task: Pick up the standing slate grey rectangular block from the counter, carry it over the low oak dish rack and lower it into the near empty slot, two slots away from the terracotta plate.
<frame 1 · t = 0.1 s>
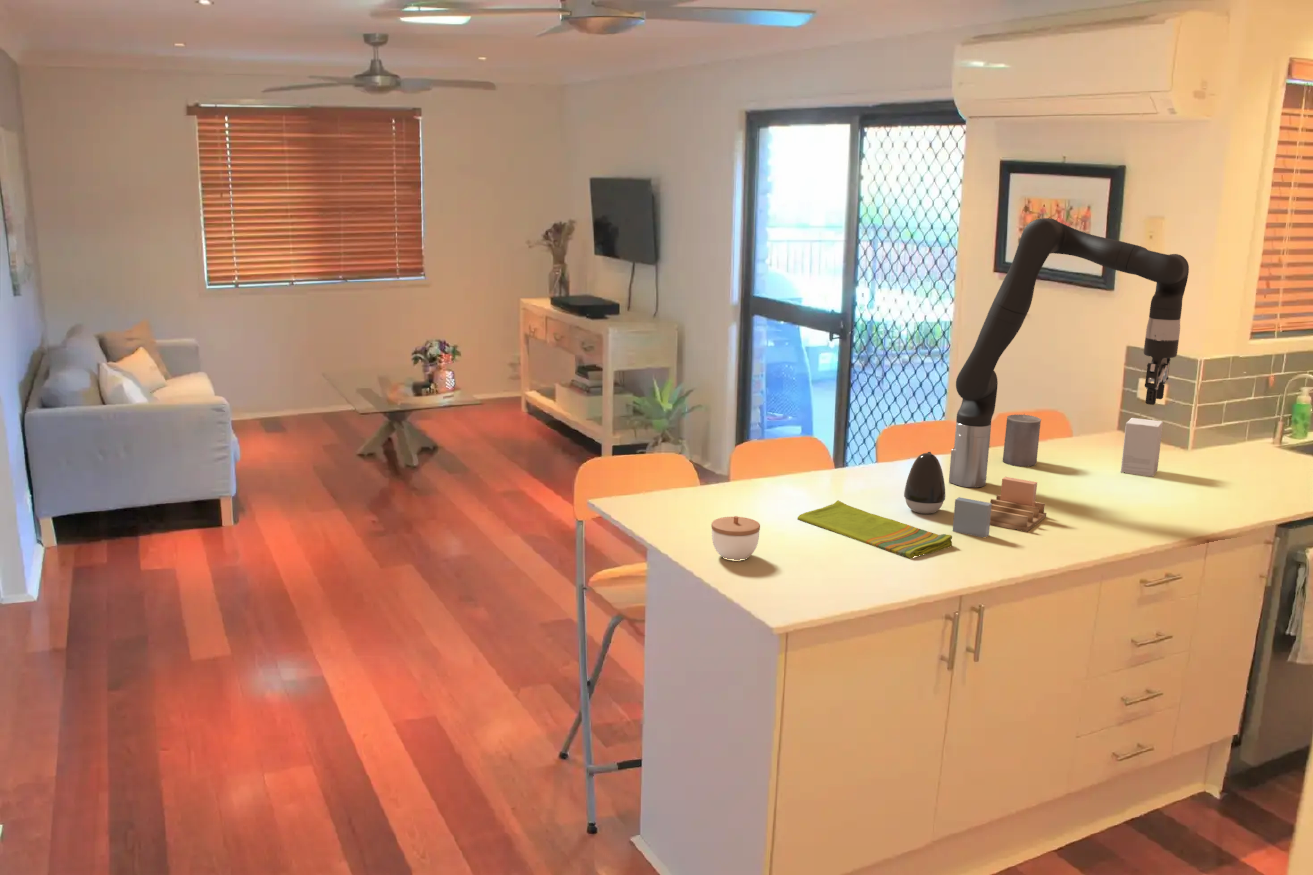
hand: (1154, 401, 271), 29 cm above the worktop, tool pointing down, fingers open, 8 cm apart
supplement box: (1138, 472, 319), on the worktop
pillar candle: (1019, 463, 327), on the worktop
lidded jar: (734, 557, 243), on the worktop
black egg-shaped piece: (923, 511, 278), on the worktop
slate grey rectangular block: (972, 517, 260), point 4 cm above the worktop
dish rack: (1010, 519, 273), on the worktop
terracotta plate: (1018, 495, 275), point 5 cm above the worktop, touching dish rack
dish towel: (872, 535, 261), on the worktop
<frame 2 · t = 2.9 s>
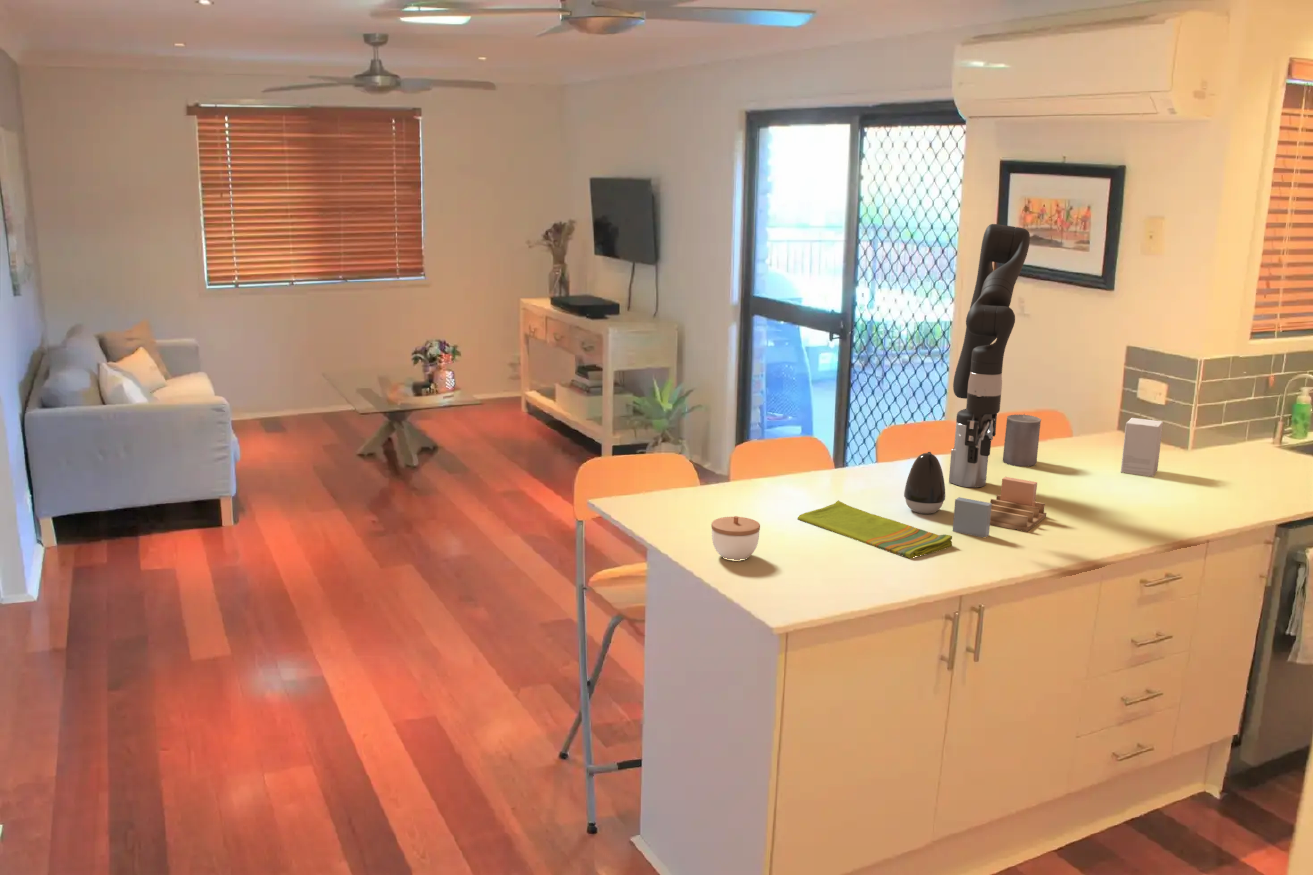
hand: (978, 459, 257), 18 cm above the worktop, tool pointing down, fingers open, 8 cm apart
nothing on the worktop moved.
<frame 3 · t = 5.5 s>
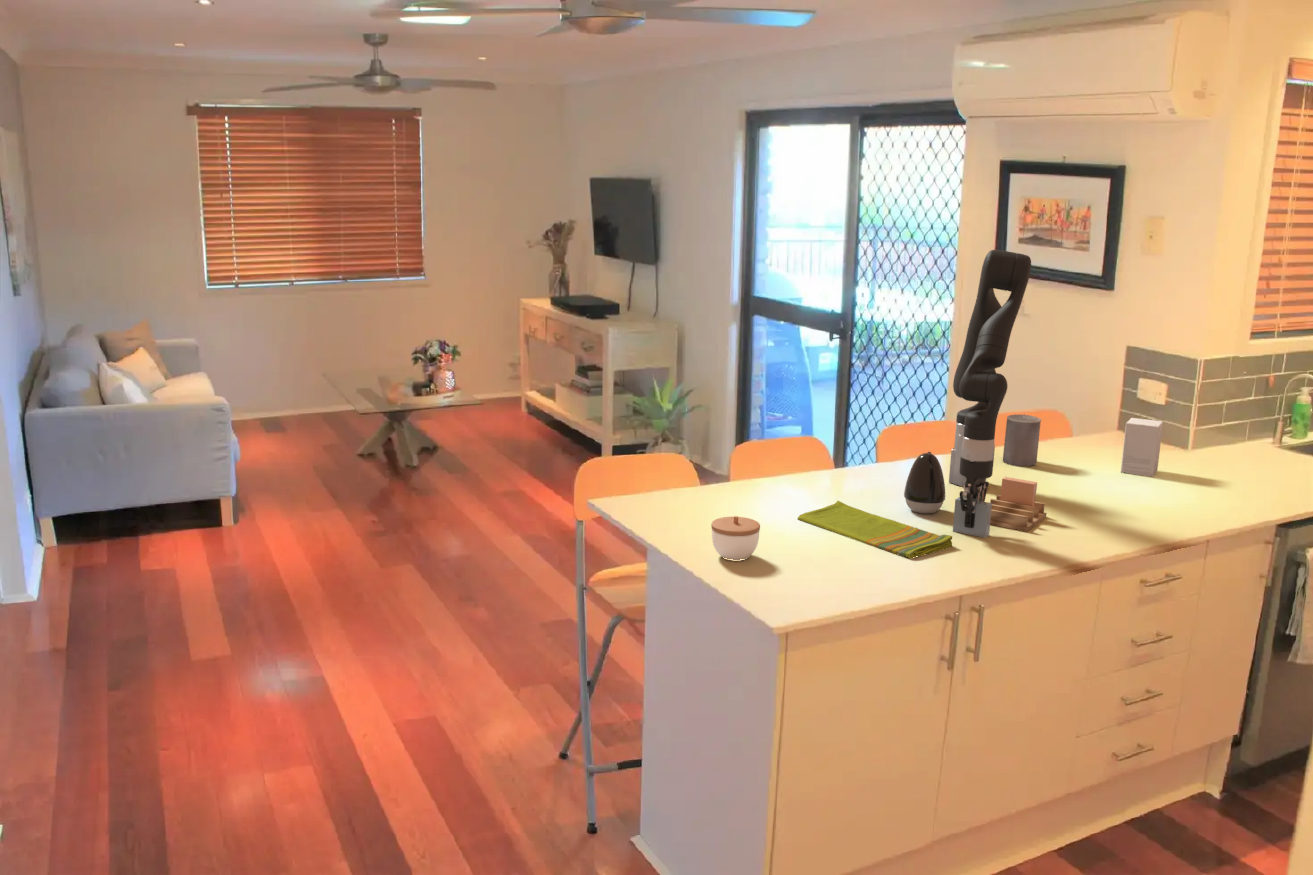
hand: (971, 525, 261), 2 cm above the worktop, tool pointing down, fingers closed on slate grey rectangular block, 2 cm apart
slate grey rectangular block: (972, 517, 260), point 4 cm above the worktop, touching gripper
everything else where it was.
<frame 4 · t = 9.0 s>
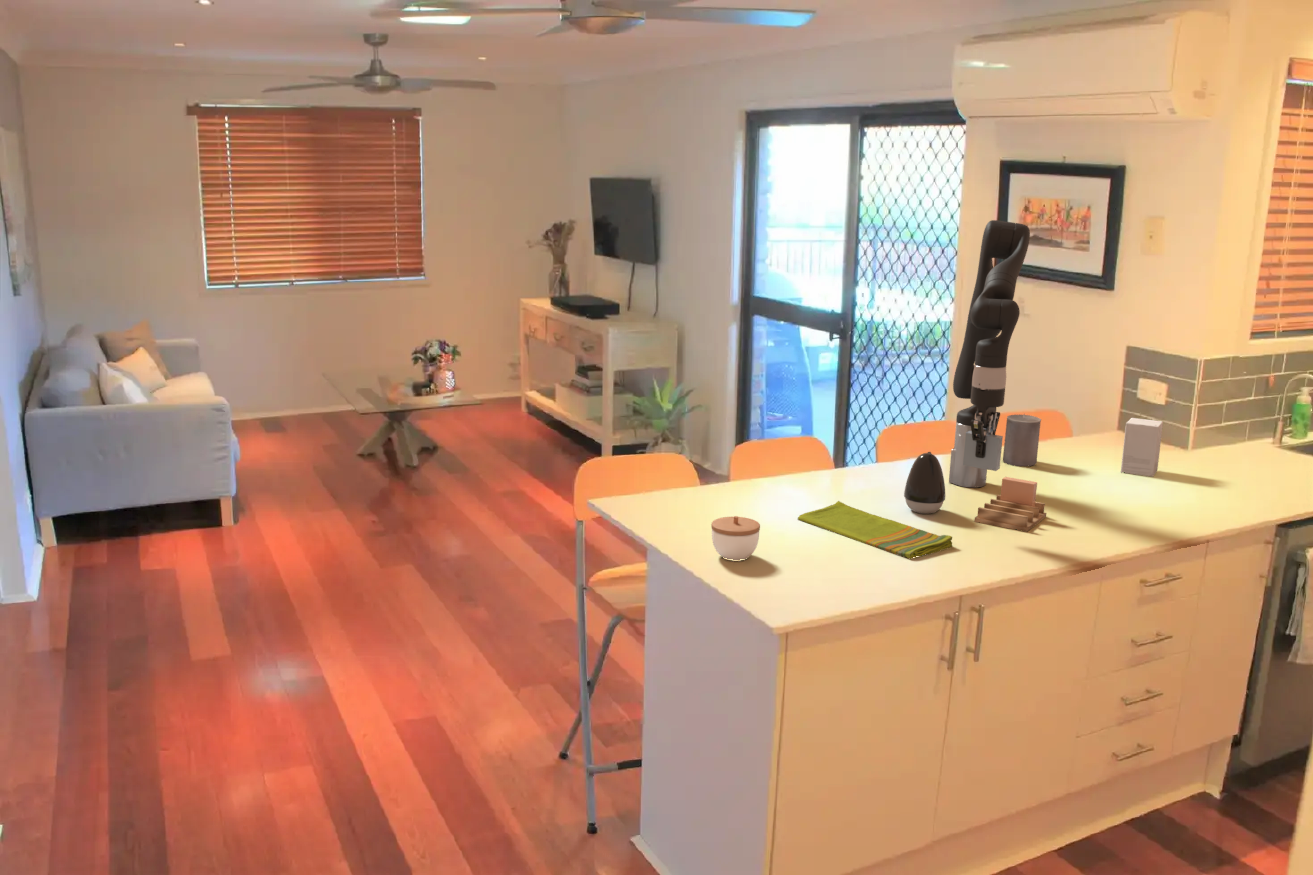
hand: (982, 456, 259), 19 cm above the worktop, tool pointing down, fingers closed on slate grey rectangular block
slate grey rectangular block: (982, 450, 258), point 20 cm above the worktop, touching gripper
everything else where it was.
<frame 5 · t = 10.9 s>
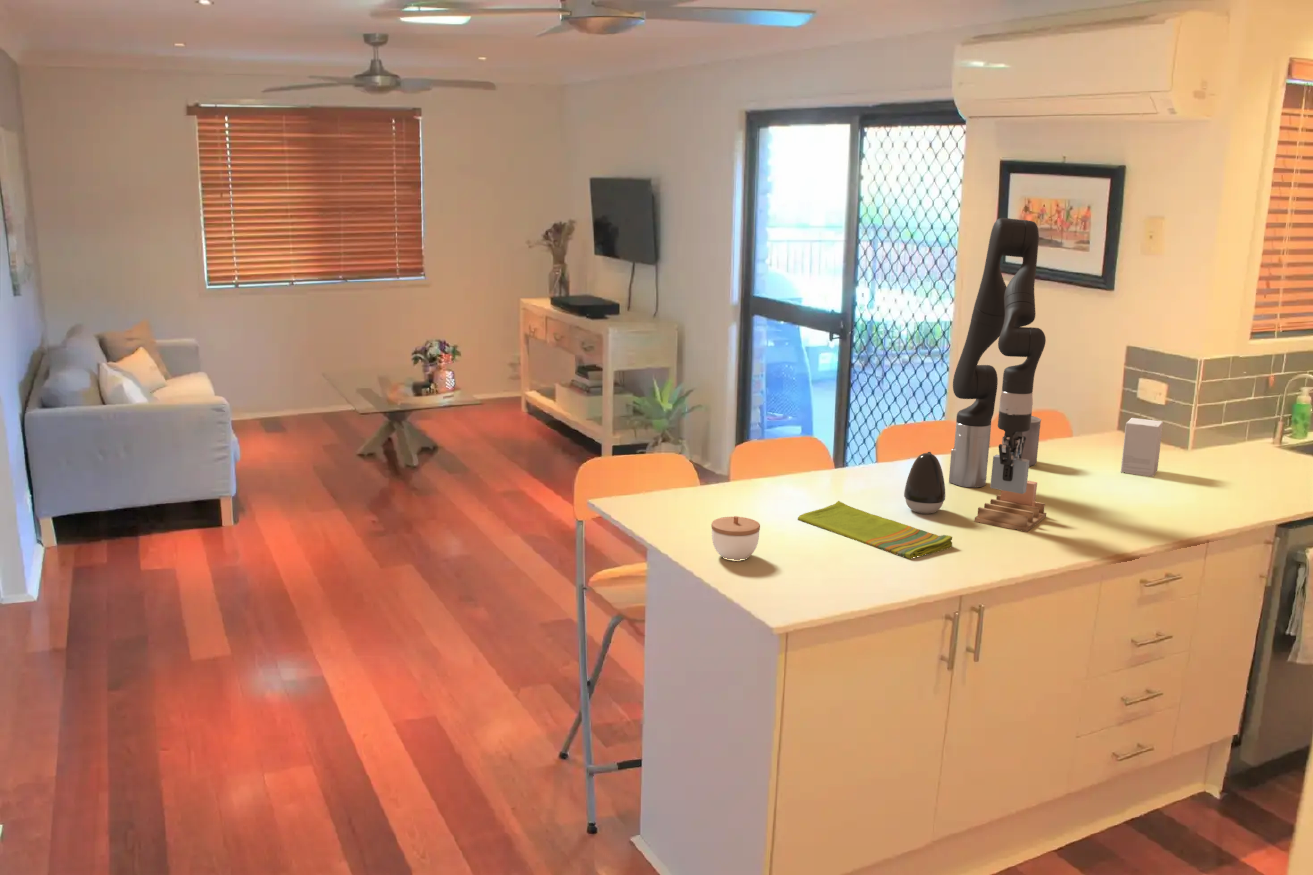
hand: (1009, 479, 266), 11 cm above the worktop, tool pointing down, fingers closed on slate grey rectangular block
slate grey rectangular block: (1009, 474, 266), point 13 cm above the worktop, touching gripper
everything else where it was.
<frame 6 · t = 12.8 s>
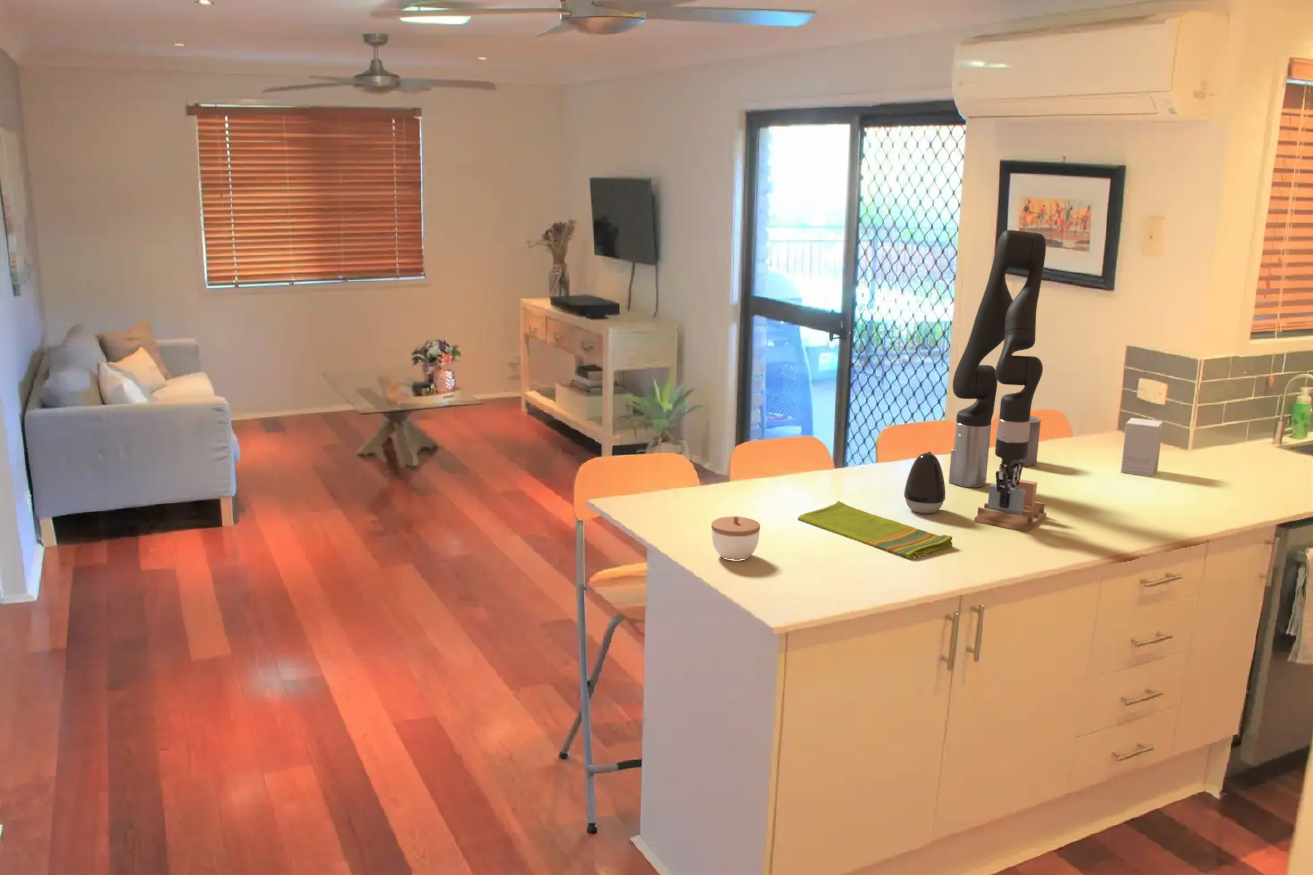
hand: (1006, 505, 268), 5 cm above the worktop, tool pointing down, fingers open, 3 cm apart
slate grey rectangular block: (1006, 503, 268), point 5 cm above the worktop
everything else where it was.
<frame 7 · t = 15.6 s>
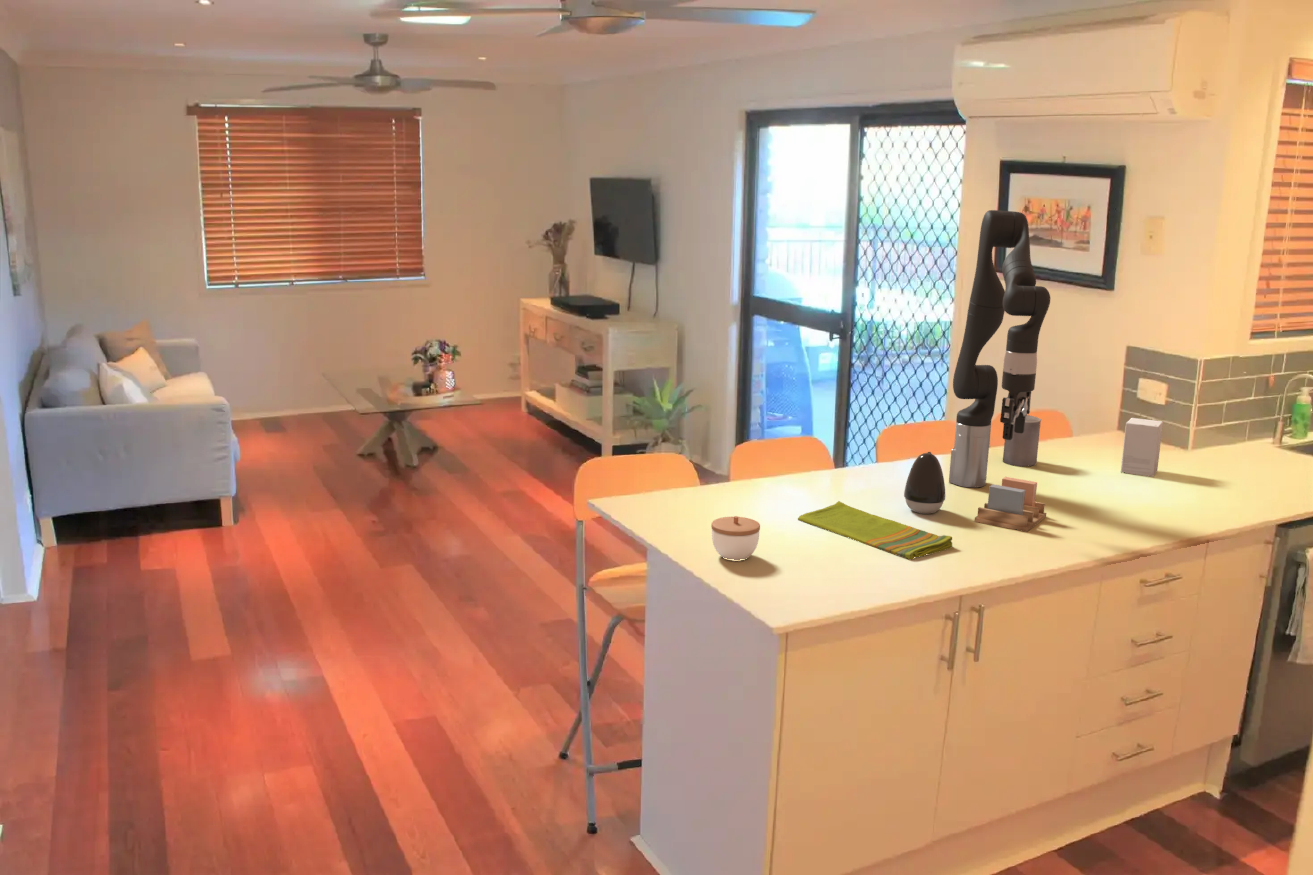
hand: (1013, 436, 264), 22 cm above the worktop, tool pointing down, fingers open, 8 cm apart
slate grey rectangular block: (1005, 503, 268), point 5 cm above the worktop, touching dish rack
everything else where it was.
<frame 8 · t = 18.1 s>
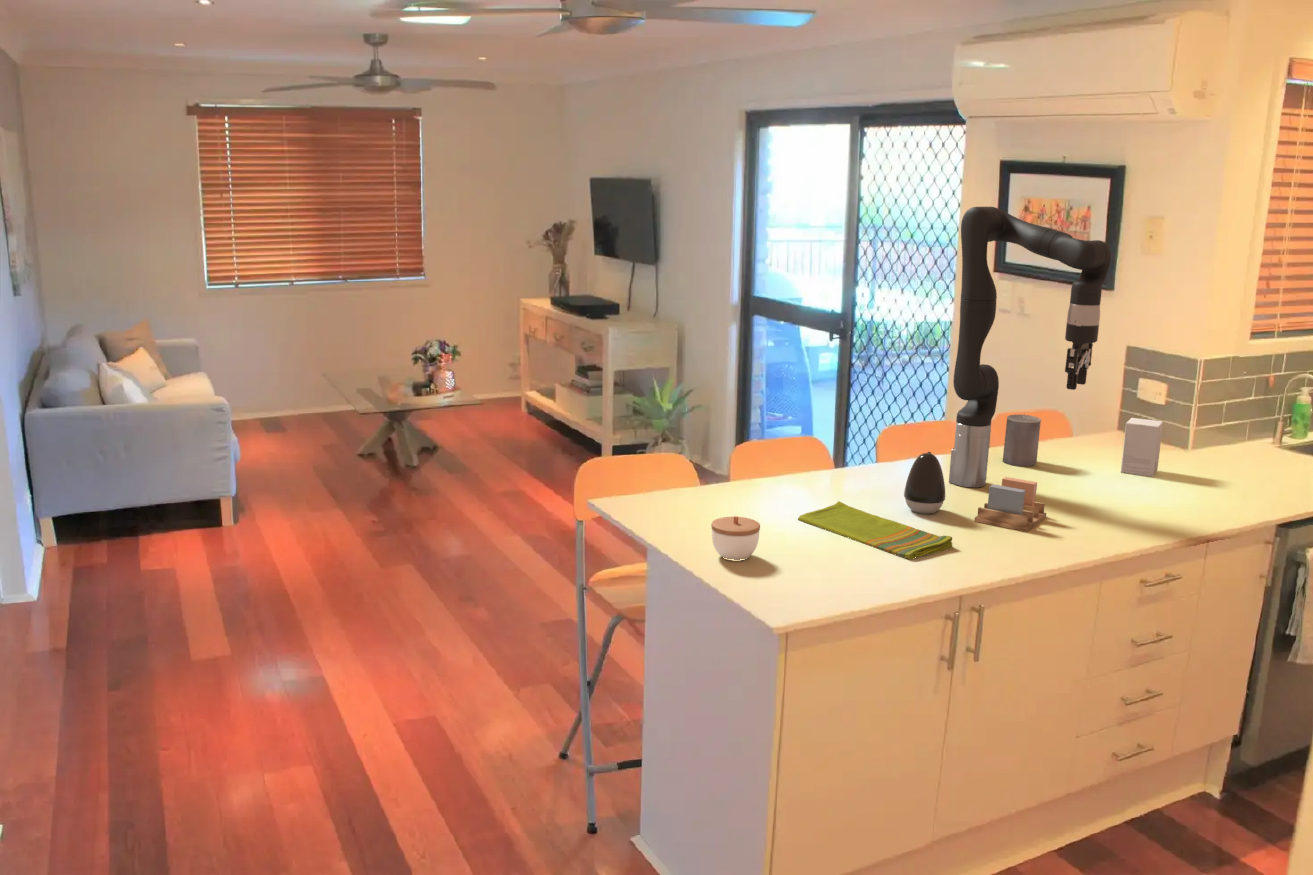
hand: (1076, 386, 274), 32 cm above the worktop, tool pointing down, fingers open, 8 cm apart
nothing on the worktop moved.
at the end: slate grey rectangular block inside the target area on the dish rack (0.2 cm from its centre), point 5.0 cm above the dish rack's base; slate grey rectangular block touching dish rack; the gripper is holding nothing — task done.
